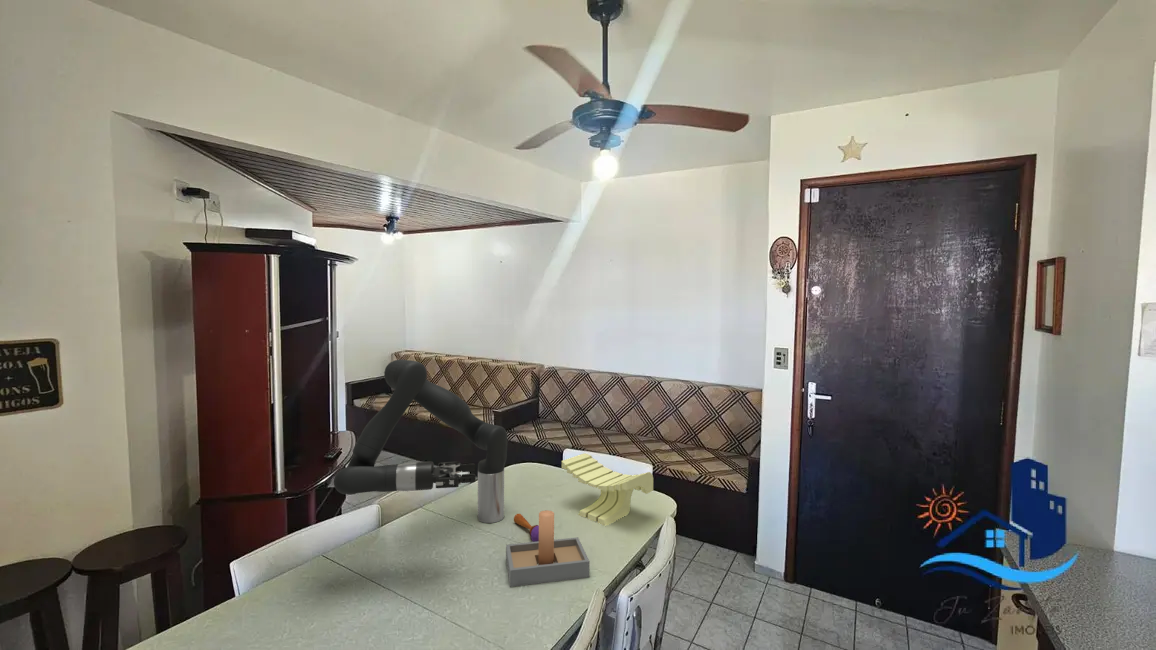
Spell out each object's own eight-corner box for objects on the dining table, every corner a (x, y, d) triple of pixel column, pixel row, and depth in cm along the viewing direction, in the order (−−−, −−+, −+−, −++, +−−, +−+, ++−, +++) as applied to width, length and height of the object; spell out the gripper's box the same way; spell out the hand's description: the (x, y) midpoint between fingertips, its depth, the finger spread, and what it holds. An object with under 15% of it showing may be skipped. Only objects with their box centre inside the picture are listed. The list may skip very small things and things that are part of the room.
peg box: (505, 559, 141) (506, 544, 141) (577, 551, 146) (578, 537, 146) (510, 586, 128) (510, 570, 127) (589, 577, 133) (589, 561, 132)
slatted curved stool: (652, 519, 169) (653, 469, 168) (625, 534, 157) (626, 481, 157) (589, 495, 189) (589, 451, 189) (561, 507, 178) (561, 460, 177)
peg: (537, 564, 138) (537, 511, 138) (552, 563, 139) (552, 509, 139) (539, 573, 134) (540, 517, 133) (554, 571, 135) (555, 516, 134)
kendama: (527, 509, 167) (554, 528, 150) (524, 526, 166) (551, 547, 149) (511, 509, 164) (537, 528, 147) (508, 527, 163) (534, 548, 146)
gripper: (412, 471, 124) (475, 467, 128) (417, 455, 138) (474, 451, 142) (412, 500, 124) (475, 495, 128) (417, 480, 138) (474, 476, 142)
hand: (475, 472), depth 135 cm, fingers open, 8 cm apart
